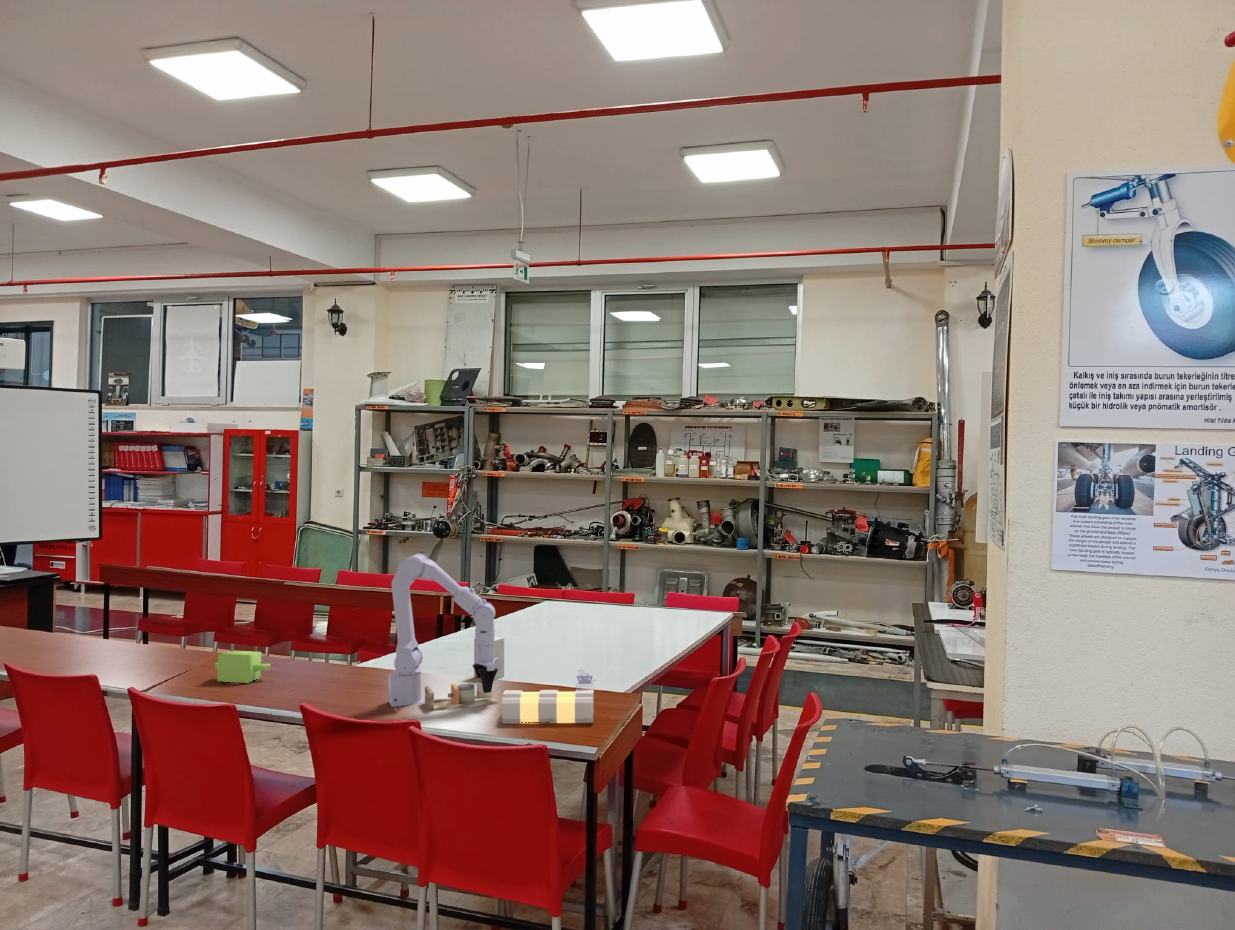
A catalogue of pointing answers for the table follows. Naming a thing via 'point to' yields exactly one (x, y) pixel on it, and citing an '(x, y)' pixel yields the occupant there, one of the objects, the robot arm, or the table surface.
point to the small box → (498, 654)
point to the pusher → (454, 694)
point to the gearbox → (240, 666)
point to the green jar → (466, 693)
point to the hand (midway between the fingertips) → (485, 690)
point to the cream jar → (480, 689)
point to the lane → (447, 703)
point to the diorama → (549, 705)
